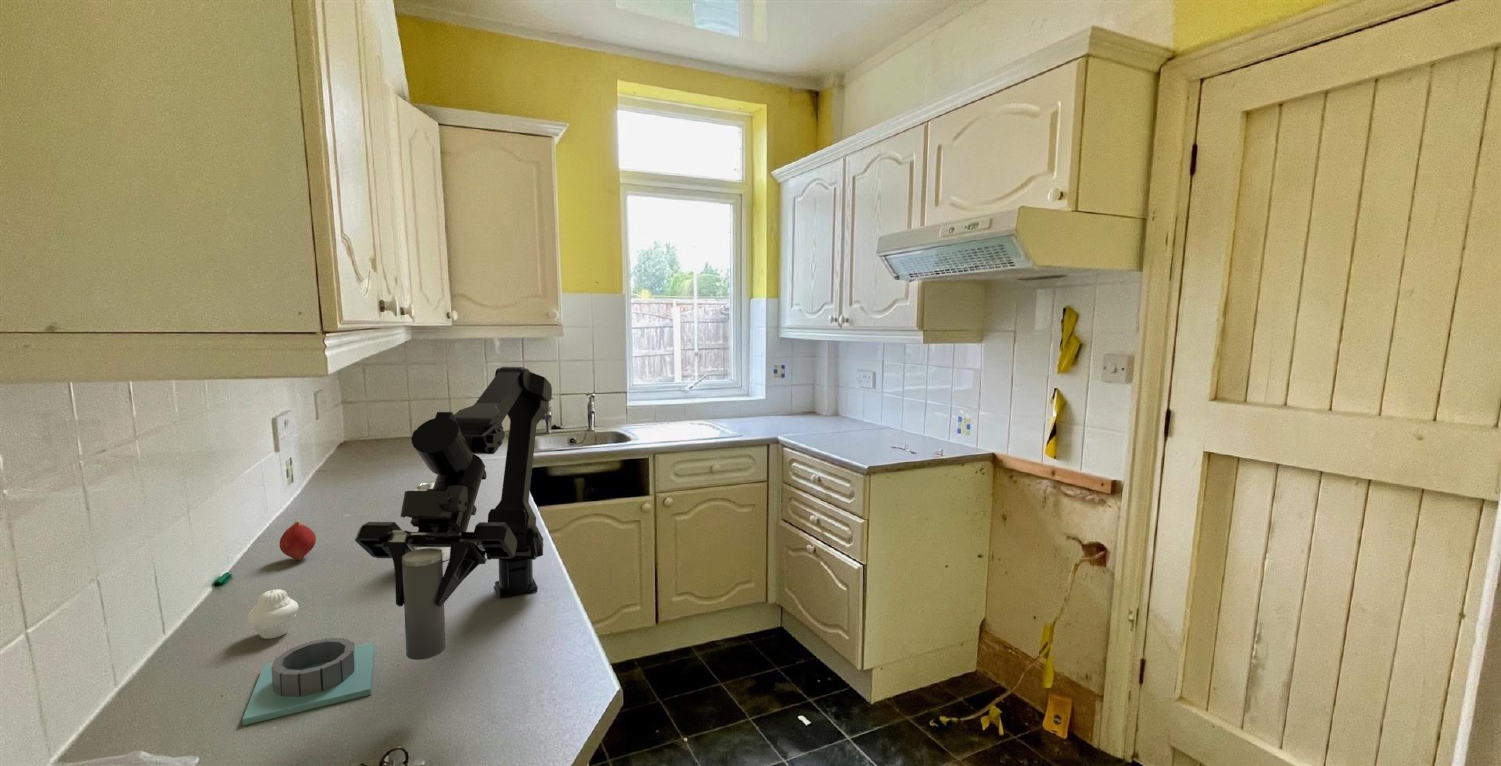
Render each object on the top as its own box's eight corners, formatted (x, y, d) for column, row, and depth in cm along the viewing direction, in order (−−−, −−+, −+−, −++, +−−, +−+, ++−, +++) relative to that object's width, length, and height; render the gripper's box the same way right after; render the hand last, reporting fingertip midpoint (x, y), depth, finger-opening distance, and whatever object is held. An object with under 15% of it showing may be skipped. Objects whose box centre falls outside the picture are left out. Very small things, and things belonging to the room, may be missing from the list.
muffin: (308, 629, 95) (305, 586, 95) (262, 648, 90) (259, 602, 89) (286, 620, 98) (283, 578, 97) (240, 637, 93) (237, 593, 92)
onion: (273, 563, 120) (270, 523, 119) (300, 552, 126) (298, 514, 125) (296, 566, 119) (294, 526, 118) (323, 555, 124) (321, 517, 123)
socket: (264, 670, 84) (262, 644, 84) (374, 647, 91) (373, 622, 90) (242, 725, 73) (240, 695, 73) (370, 694, 79) (369, 666, 79)
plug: (406, 645, 78) (402, 551, 77) (445, 638, 80) (441, 546, 79) (405, 663, 75) (401, 564, 73) (445, 654, 77) (442, 558, 75)
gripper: (359, 461, 79) (306, 580, 69) (507, 462, 79) (475, 580, 70) (395, 502, 87) (352, 613, 77) (528, 503, 88) (502, 613, 78)
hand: (418, 605), depth 75 cm, fingers closed on plug, 4 cm apart
